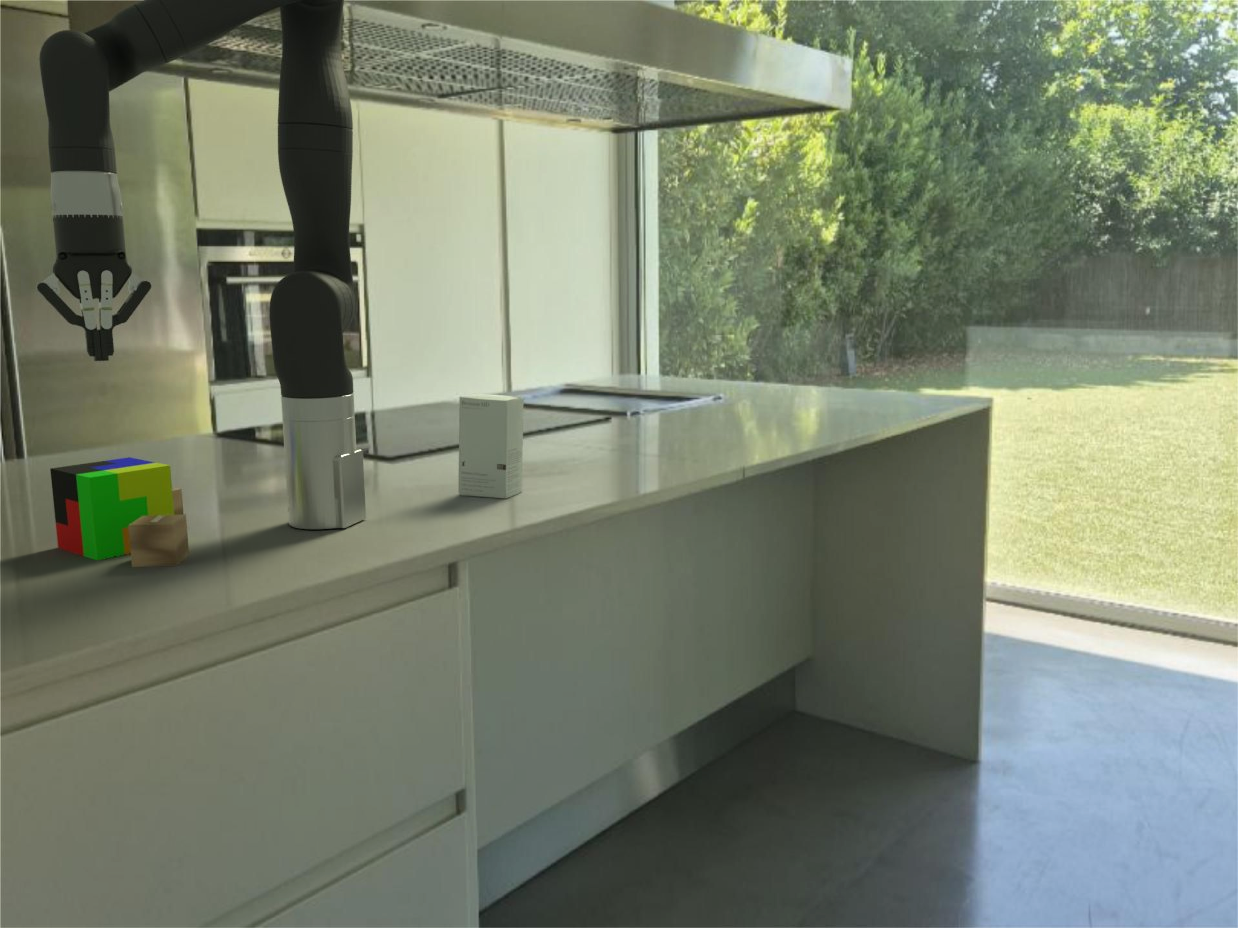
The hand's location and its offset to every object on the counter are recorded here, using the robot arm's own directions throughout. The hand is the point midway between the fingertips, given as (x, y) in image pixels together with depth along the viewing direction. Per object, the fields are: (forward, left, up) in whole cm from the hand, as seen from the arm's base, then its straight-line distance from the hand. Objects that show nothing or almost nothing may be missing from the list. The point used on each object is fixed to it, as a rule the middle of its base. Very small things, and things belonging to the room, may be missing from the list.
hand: (101, 360), depth 135 cm
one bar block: (-10, +5, -23) cm, 26 cm away
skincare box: (-34, -40, -23) cm, 57 cm away
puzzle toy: (0, 0, -23) cm, 23 cm away
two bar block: (+2, -10, -23) cm, 25 cm away
